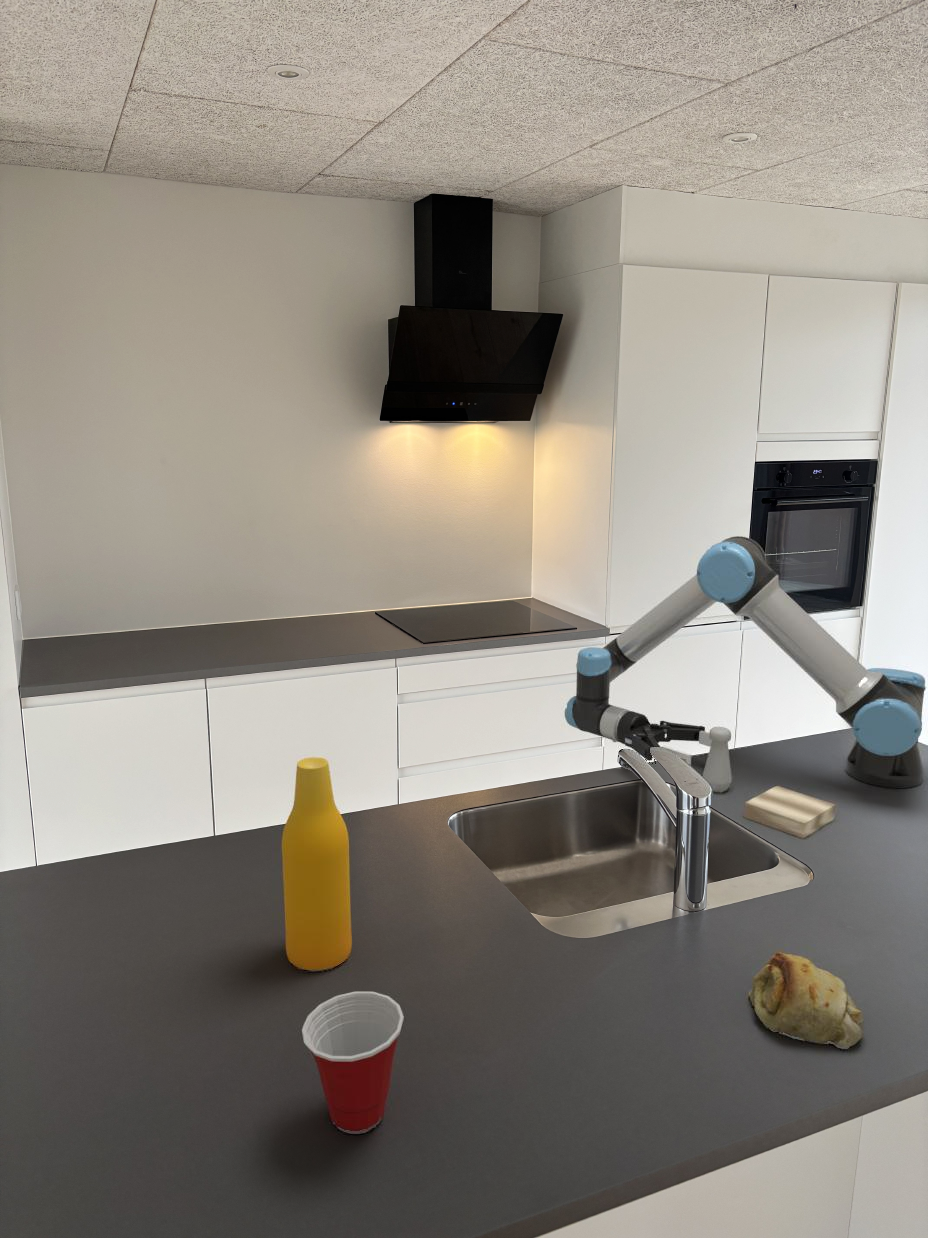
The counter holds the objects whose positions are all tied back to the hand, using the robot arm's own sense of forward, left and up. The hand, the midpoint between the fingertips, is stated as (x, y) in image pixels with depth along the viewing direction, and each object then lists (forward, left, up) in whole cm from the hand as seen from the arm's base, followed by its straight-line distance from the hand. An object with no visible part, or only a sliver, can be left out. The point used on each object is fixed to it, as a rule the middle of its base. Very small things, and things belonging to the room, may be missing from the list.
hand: (709, 753), depth 185 cm
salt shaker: (0, +2, -7) cm, 8 cm away
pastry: (+55, +49, -8) cm, 74 cm away
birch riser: (+2, +19, -7) cm, 21 cm away
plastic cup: (+107, +24, -8) cm, 110 cm away
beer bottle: (+93, -4, -7) cm, 93 cm away
